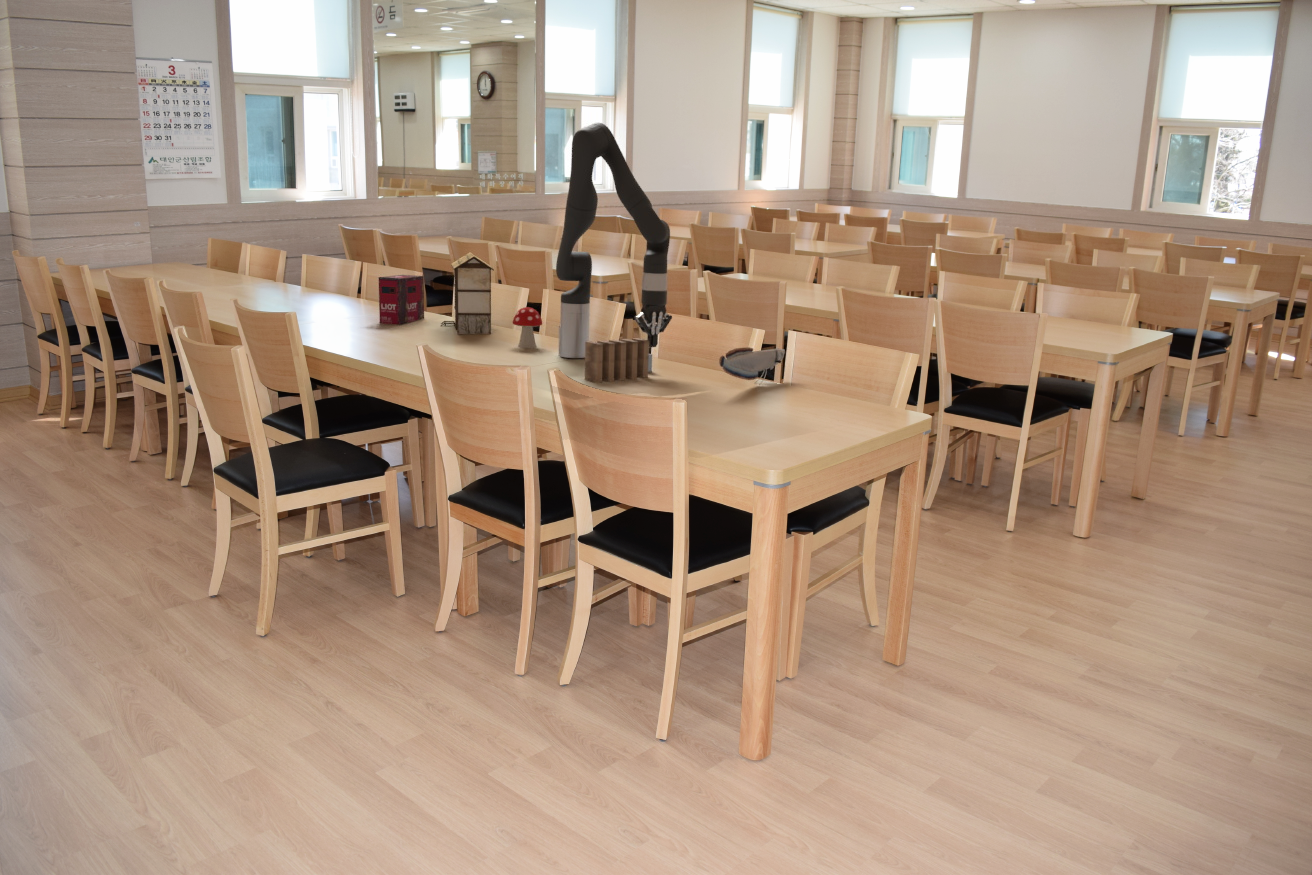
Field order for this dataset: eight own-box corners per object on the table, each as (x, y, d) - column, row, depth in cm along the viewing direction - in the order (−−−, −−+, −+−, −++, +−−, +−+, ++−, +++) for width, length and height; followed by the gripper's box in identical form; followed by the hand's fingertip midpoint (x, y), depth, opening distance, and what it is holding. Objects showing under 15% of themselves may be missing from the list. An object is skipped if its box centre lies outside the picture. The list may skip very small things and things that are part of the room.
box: (404, 326, 390) (403, 274, 385) (424, 328, 387) (423, 276, 383) (379, 331, 375) (378, 277, 370) (400, 333, 372) (399, 278, 367)
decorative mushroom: (544, 351, 342) (544, 306, 338) (539, 354, 333) (539, 309, 330) (515, 349, 342) (515, 305, 339) (509, 353, 334) (509, 308, 331)
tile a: (630, 374, 301) (632, 338, 299) (635, 374, 302) (636, 338, 300) (643, 378, 297) (644, 341, 294) (647, 377, 298) (649, 340, 295)
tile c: (608, 377, 296) (609, 340, 293) (612, 376, 297) (613, 339, 295) (620, 380, 291) (621, 342, 289) (625, 379, 293) (626, 342, 290)
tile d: (596, 378, 293) (597, 340, 291) (601, 377, 294) (602, 340, 292) (608, 381, 289) (609, 343, 286) (613, 381, 290) (614, 343, 287)
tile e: (584, 379, 291) (585, 341, 288) (589, 378, 292) (590, 341, 289) (596, 382, 286) (597, 344, 284) (601, 382, 287) (602, 344, 285)
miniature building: (494, 342, 358) (493, 256, 352) (440, 341, 354) (438, 255, 347) (488, 332, 382) (488, 252, 375) (438, 332, 378) (437, 251, 371)
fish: (722, 395, 275) (725, 352, 272) (704, 391, 279) (706, 349, 276) (794, 382, 299) (797, 343, 296) (776, 379, 303) (779, 340, 300)
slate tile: (646, 374, 304) (624, 369, 312) (651, 374, 305) (629, 368, 313) (647, 354, 302) (625, 349, 311) (652, 354, 304) (630, 349, 312)
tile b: (619, 376, 299) (620, 339, 296) (624, 375, 300) (625, 338, 297) (631, 379, 294) (632, 341, 292) (636, 378, 295) (637, 341, 293)
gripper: (644, 290, 289) (642, 349, 293) (679, 289, 297) (677, 347, 301) (628, 288, 295) (627, 346, 299) (664, 287, 303) (662, 344, 307)
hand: (652, 346), depth 300 cm, fingers closed
